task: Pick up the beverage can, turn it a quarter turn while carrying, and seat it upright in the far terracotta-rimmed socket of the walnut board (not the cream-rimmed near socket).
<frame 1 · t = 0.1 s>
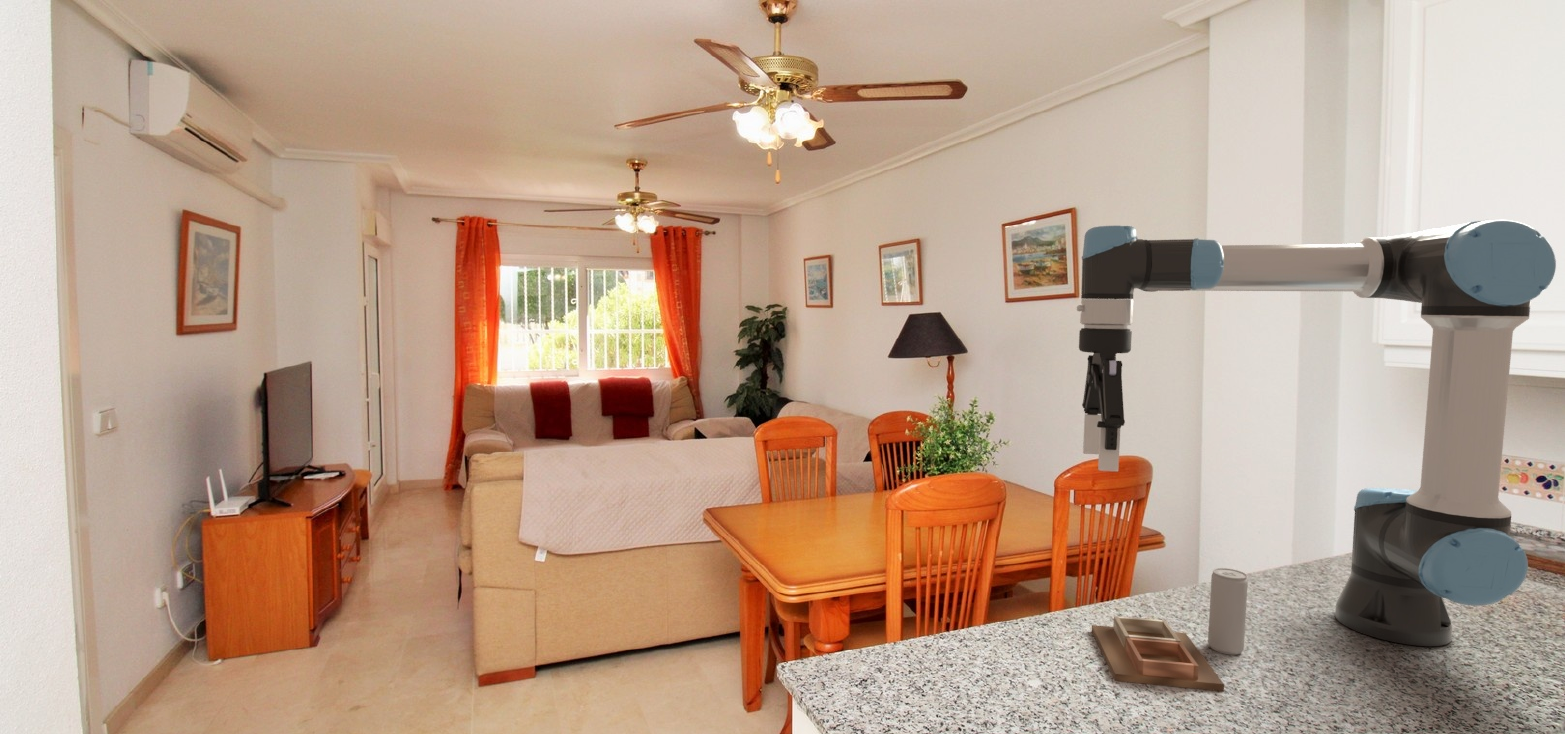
hand: (1099, 461, 123), 28 cm above the countertop, fingers open, 13 cm apart
beverage can: (1225, 650, 120), on the countertop
socket board: (1152, 658, 116), on the countertop
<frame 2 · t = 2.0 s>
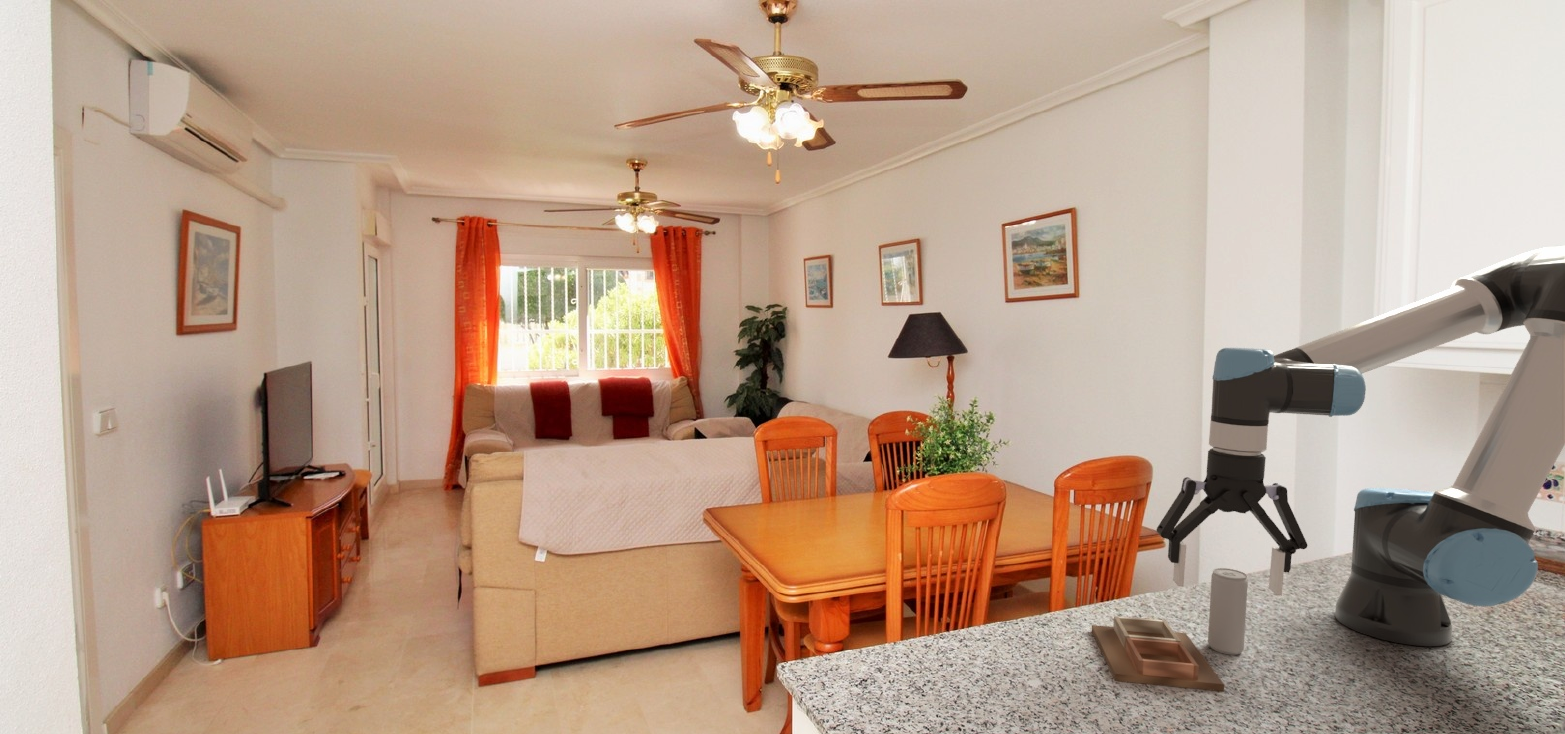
hand: (1226, 587, 119), 10 cm above the countertop, fingers open, 13 cm apart
nothing on the countertop moved.
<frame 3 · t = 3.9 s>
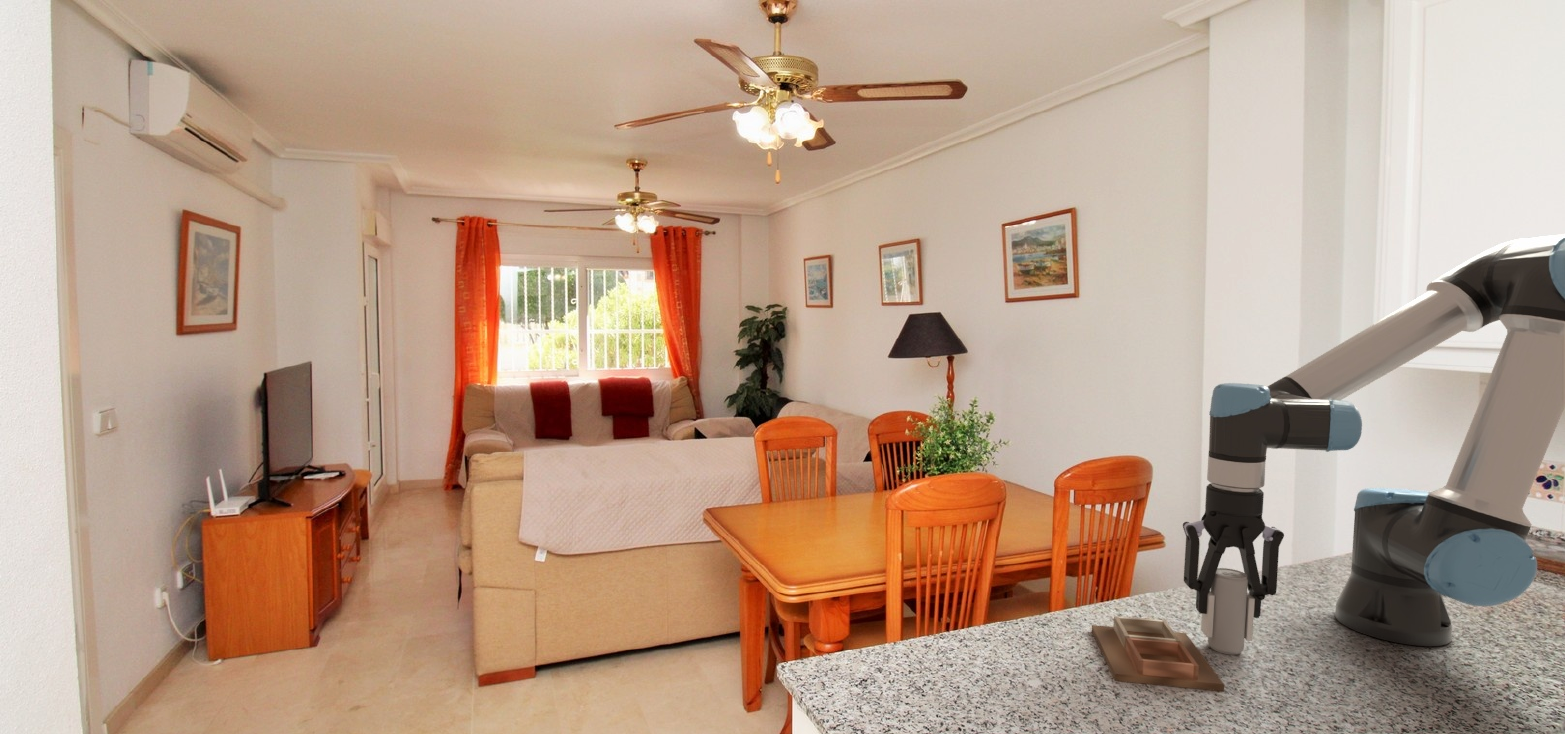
hand: (1226, 634, 120), 2 cm above the countertop, fingers closed on beverage can, 5 cm apart
beverage can: (1225, 650, 120), on the countertop, touching gripper
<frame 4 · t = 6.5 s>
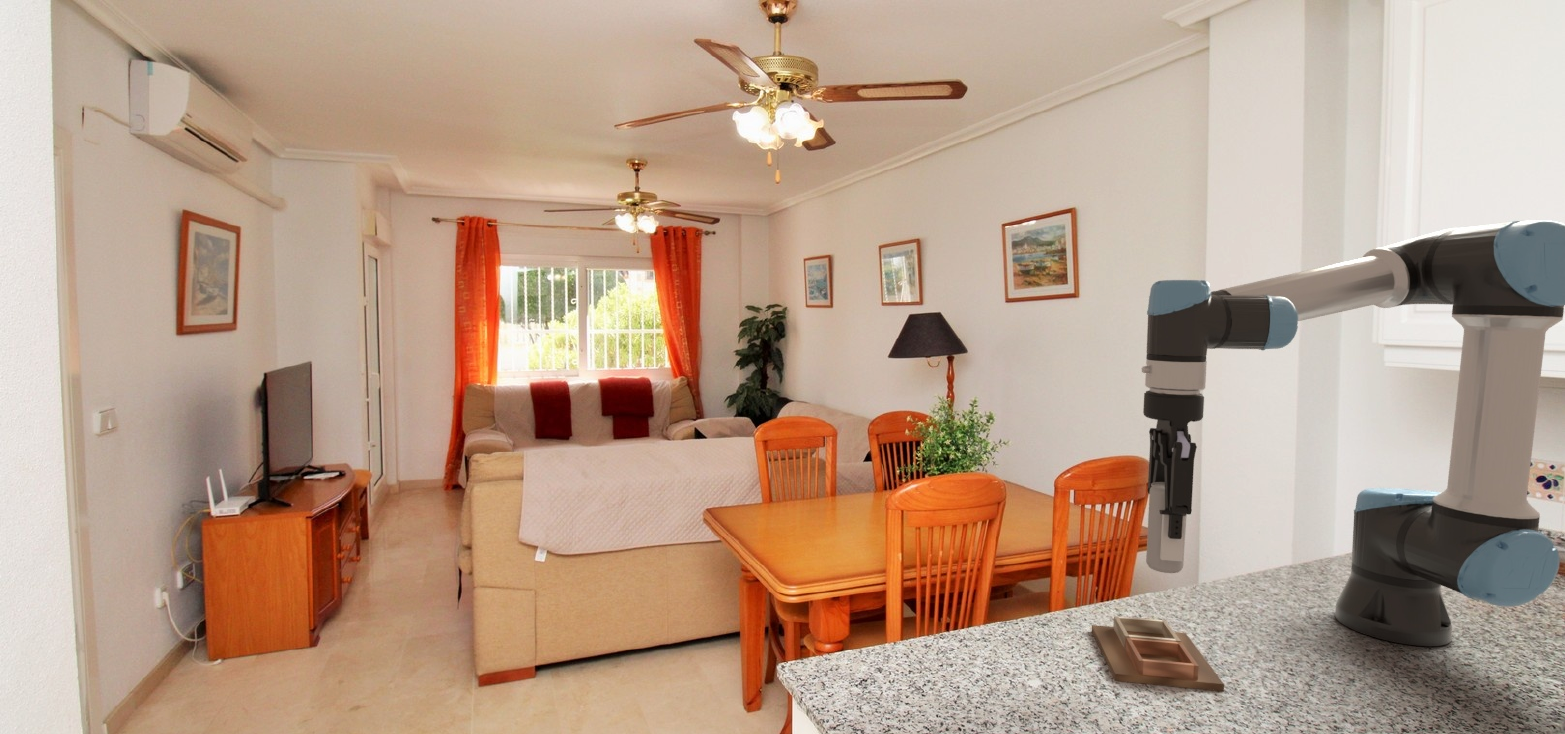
hand: (1165, 553, 111), 17 cm above the countertop, fingers closed on beverage can, 5 cm apart
beverage can: (1164, 569, 111), point 15 cm above the countertop, touching gripper
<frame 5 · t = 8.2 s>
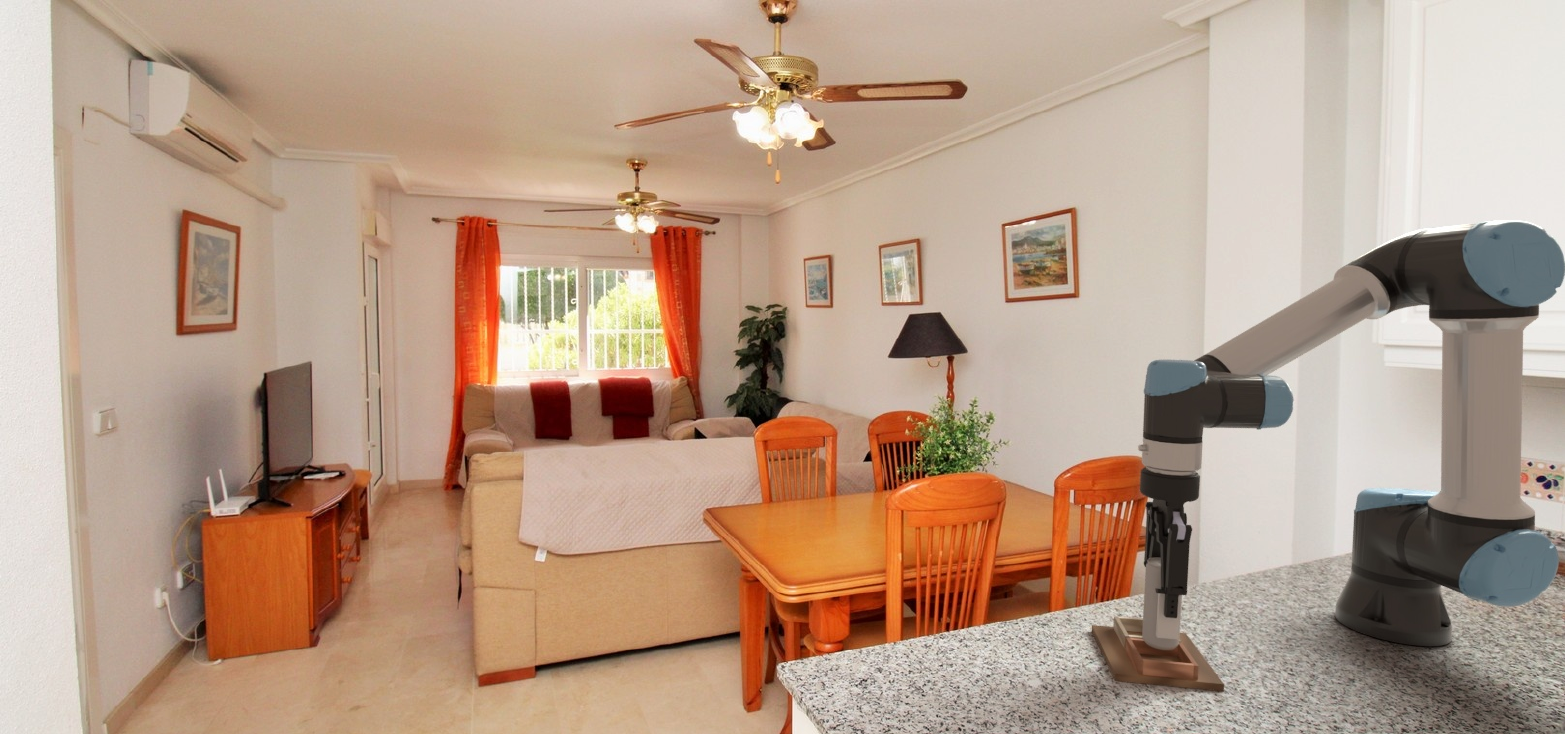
hand: (1161, 629, 112), 6 cm above the countertop, fingers closed on beverage can, 5 cm apart
beverage can: (1160, 645, 112), point 4 cm above the countertop, touching gripper
when the fingers open (4 cm above the countertop, at t = 9.4 s): beverage can stays where it is, resting on socket board.
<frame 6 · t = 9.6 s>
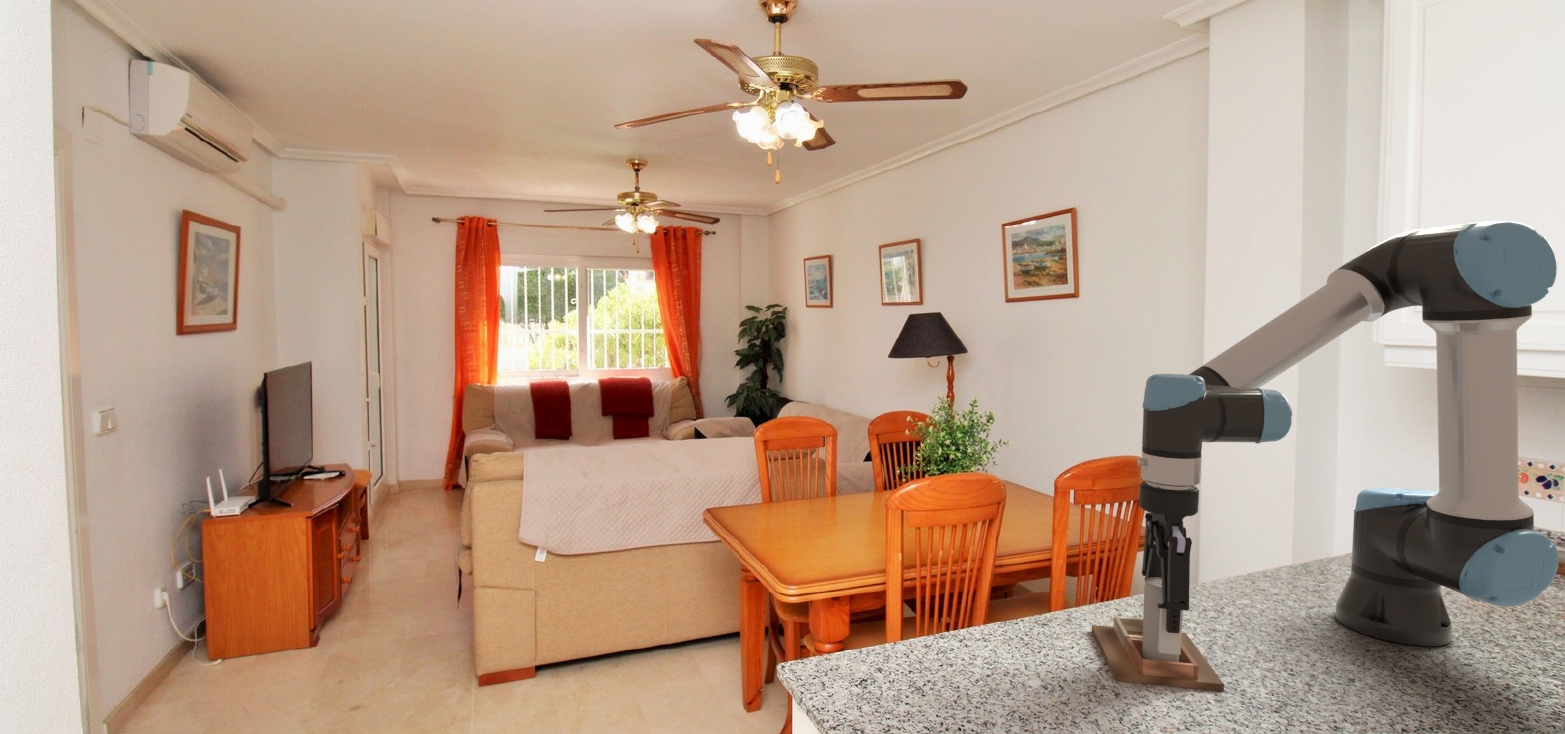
hand: (1161, 640, 112), 5 cm above the countertop, fingers open, 7 cm apart
beverage can: (1160, 665, 112), point 1 cm above the countertop, touching socket board
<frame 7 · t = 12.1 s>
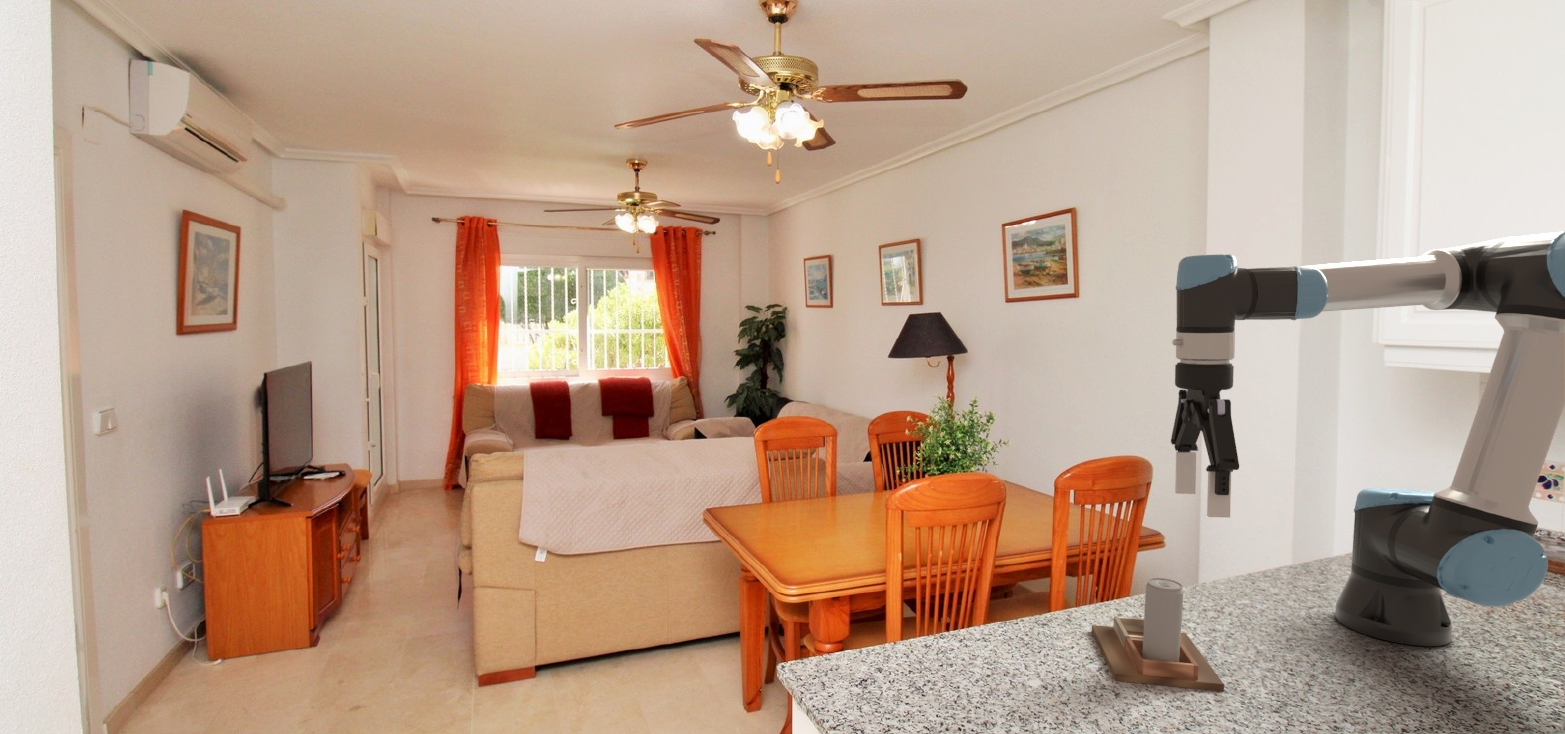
hand: (1200, 504, 115), 23 cm above the countertop, fingers open, 13 cm apart
nothing on the countertop moved.
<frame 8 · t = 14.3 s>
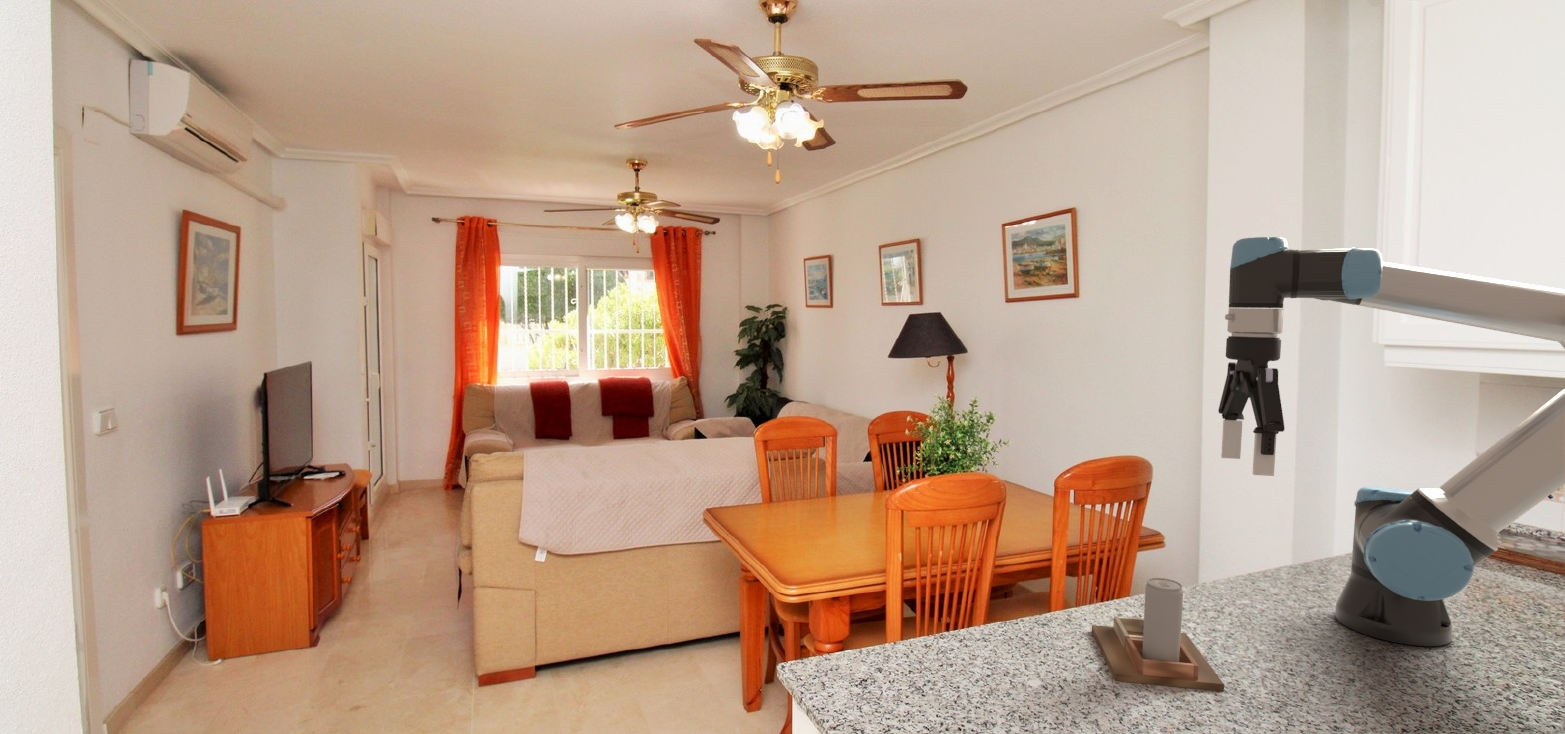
hand: (1246, 466, 126), 27 cm above the countertop, fingers open, 13 cm apart
nothing on the countertop moved.
at the end: beverage can 0.0 cm from the target spot, point 0.8 cm above the countertop; beverage can tilted 0°; the gripper is holding nothing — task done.
